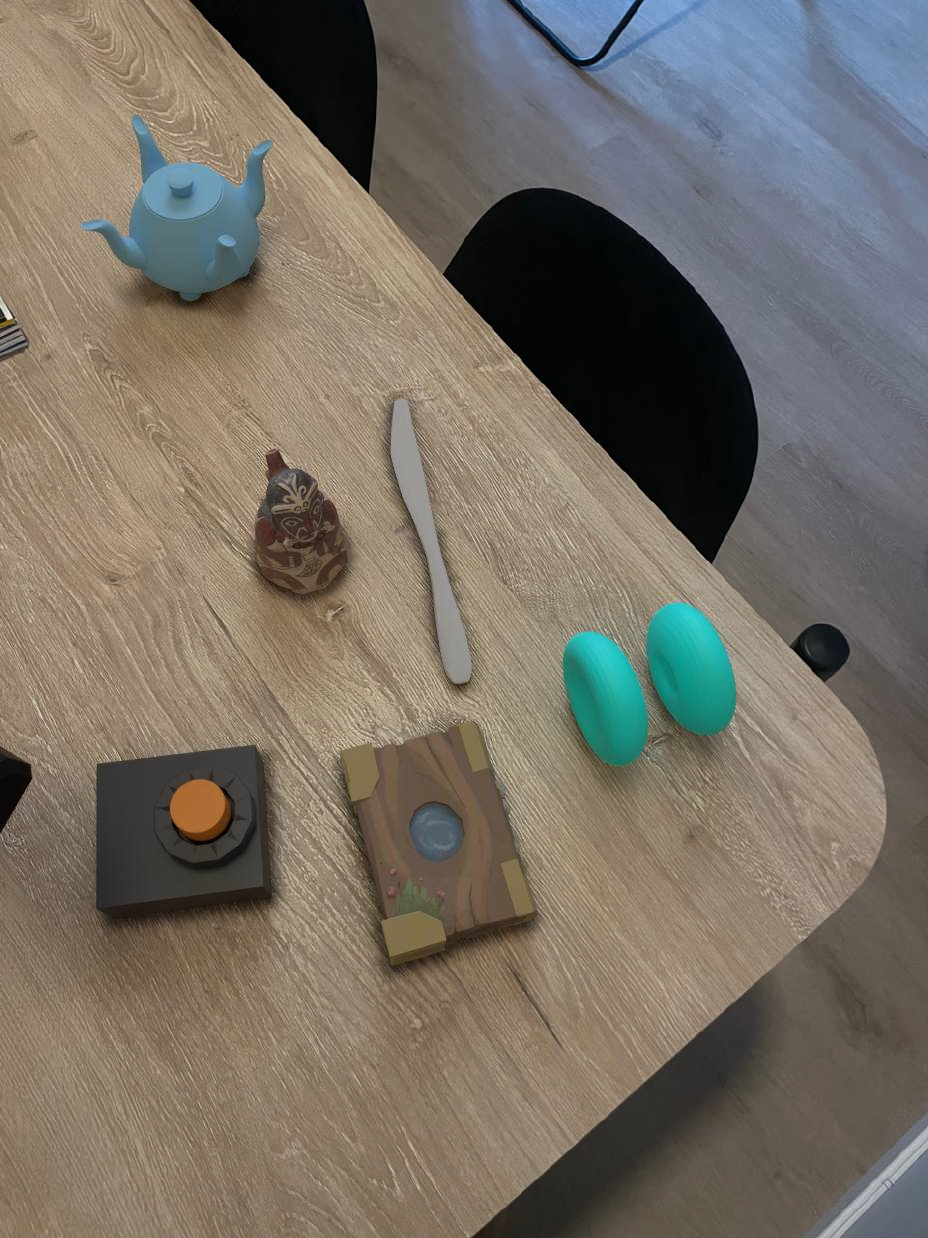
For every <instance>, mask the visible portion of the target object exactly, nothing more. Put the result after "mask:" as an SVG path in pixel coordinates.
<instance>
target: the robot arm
mask: <svg viewBox="0 0 928 1238" xmlns="http://www.w3.org/2000/svg"><path fill="white" fill-rule="evenodd" d="M32 781H33V771H32V764H31V763H29V762H28V761H26V760H24V759H23V758H21V757H19V756H18V755H16V754H15V753H12V752H11V751H9V750H8V749H6V748H4V747H3V746H1V745H0V835H1V834H2V832H3V831H4V829H5V827H6V826H7V824H8V822H9V820H10V818H11V816H12V815H13V813H14V811H16V808H17V806H18V804H19V803H20V802H21V799H22V798H23V797H24V794H25V793H26V791H27V789H28V787H29V786H30V784H31V782H32Z"/></svg>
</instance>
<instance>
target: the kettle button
mask: <svg viewBox="0 0 928 1238" xmlns="http://www.w3.org/2000/svg"><path fill="white" fill-rule="evenodd" d="M170 815H171V818H172V820H173V822H174V823H175V825H176V826H177V827H178V828H179V829H180V831H181V832H182V833H183V834H184V835H185V836H187V837H188V838H190V839H192V840H196V841H207V840H211V839H213V838H216V837H217V836H219V835H220V834H221V833H222V832H223V831H224V830H225V829H226V827H227V826H228V824H229V821H230V818H231V807H230V804H229V802H228V800H227V798H226V797H225V795H224V793H223V792H222V790H221V789H220V788H219V787H218V786H217V785H216V784H215V783H213V782H211V781H208V780H203V779H198V780H192V781H189V782H187V783H185V784H184V785H182V786H181V787H180V788H179V789H178V790H177V791H176V792H175V794H174V795H173V797H172V800H171V803H170Z"/></svg>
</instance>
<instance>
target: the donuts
mask: <svg viewBox="0 0 928 1238" xmlns="http://www.w3.org/2000/svg"><path fill="white" fill-rule="evenodd" d="M645 640H646V643H645V647H646V648H645V649H646V658H647V664H648V668H649V673H650V675H651V679H652V682H653V684H654V687H655V689H656V692H657V694H658V696H659V698H660V700H661V702H662V704H663V705H664V706H665V708H666V710H667V711H668V713H669V714H670V716H672V718H673V719H674V720H675V721H676V722H677V723H678V724H679V725H680V726H682V727H683V728H684V729H686V730H687V731H689V732H692V733H694V734H696V735H700V736H713V735H716V734H718V733H720V732H723V731H724V730H725V729H726V728H727V727H728V725H729V724H730V723H731V722H732V719H733V717H734V715H735V712H736V707H737V686H736V679H735V675H734V671H733V667H732V663H731V660H730V657H729V655H728V652H727V649H726V646H725V645H724V642H723V640H722V639H721V636H720V635H719V633H718V632H717V629H715V626H714V625H713V623H712V622H711V621H710V620H709V619H708V618H707V616H706V615H704V613H703V612H701V610H699V609H697V608H696V607H695V606H693V605H691V604H688V603H685V602H671V603H668V604H665V605H664V606H662V607H660V609H658V610H657V611H656V612H655V613H654V615H653V616H652V618H651V621H650V622H649V624H648V628H647V632H646V639H645ZM562 671H563V673H562V674H563V681H564V686H565V690H566V694H567V697H568V701H569V704H570V707H571V710H572V713H573V716H574V718H575V721H576V723H577V725H578V727H579V730H580V732H581V734H582V735H583V738H584V739H585V741H586V743H587V744H588V746H589V748H590V749H591V750H592V751H593V753H594V754H595V756H597V757H598V759H600V760H601V761H602V762H604V763H606V764H608V765H611V766H614V767H623V766H629V765H630V764H631V763H633V762H635V761H636V760H637V759H638V758H640V756H641V754H642V753H643V751H644V749H645V746H646V743H647V739H648V733H649V717H648V710H647V704H646V701H645V697H644V692H643V690H642V686H641V684H640V681H639V679H638V676H637V674H636V672H635V670H634V667H633V665H632V664H631V662H630V660H629V658H628V657H627V656H626V654H625V653H624V651H622V649H621V648H620V647H619V645H617V644H616V643H615V642H614V641H613V640H612V639H610V638H609V637H608V636H606V635H604V634H602V633H599V632H596V631H591V630H589V631H582V632H579V633H576V634H575V635H574V636H572V637H571V638H570V639H569V640H568V641H567V644H566V645H565V647H564V649H563V656H562Z"/></svg>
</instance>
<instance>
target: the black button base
mask: <svg viewBox="0 0 928 1238" xmlns="http://www.w3.org/2000/svg"><path fill="white" fill-rule="evenodd" d="M264 766H265V765H264V761H263V759H262V756H261V754H260V752H259V750H258V748H257V746H256V744H248V745H239V746H233V747H225V748H216V749H207V750H199V751H191V752H184V753H183V752H182V753H175V754H174V753H173V754H166V755H158V756H149V757H141V758H134V759H126V760H115V761H108V762H98V763H96V788H95V789H96V794H95V795H96V804H95V805H96V807H95V808H96V811H95V812H96V813H95V814H96V815H95V816H96V817H95V818H96V820H95V821H96V825H95V826H96V827H95V828H96V829H95V830H96V832H95V834H96V835H95V836H96V839H95V840H96V841H95V842H96V843H95V845H96V846H95V849H96V850H95V852H96V853H95V857H96V859H95V862H96V863H95V865H96V867H95V883H96V884H95V909H96V910H98V911H99V912H101V913H102V914H104V915H106V916H108V917H109V918H110V919H112V920H116V919H123V918H131V917H138V916H147V915H154V914H161V913H169V912H177V911H184V910H192V909H199V908H205V907H206V908H207V907H214V906H221V905H229V904H238V903H244V902H252V901H258V900H259V901H260V900H268V899H272V898H273V895H272V879H271V878H272V877H271V876H272V875H271V863H270V860H271V859H270V846H269V845H270V843H269V831H268V829H269V828H268V816H267V813H268V812H267V799H266V782H265V768H264ZM198 779H203V780H208V781H211V782H213V783H215V784H216V785H217V786H218V787H219V788H220V789H221V790H222V792H223V793H224V795H225V797H226V798H227V800H228V802H229V804H230V807H231V818H230V821H229V824H228V826H227V827H226V829H225V830H224V831H223V832H222V833H221V834H220V835H219V836H217V837H216V838H213V839H211V840H207V841H196V840H192V839H190V838H188V837H187V836H185V835H184V834H183V833H182V832H181V831H180V829H179V828H178V827H177V826H176V825H175V823H174V822H173V820H172V818H171V815H170V803H171V800H172V797H173V795H174V794H175V792H176V791H177V790H178V789H179V788H180V787H181V786H182V785H184V784H185V783H187V782H189V781H192V780H198Z"/></svg>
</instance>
